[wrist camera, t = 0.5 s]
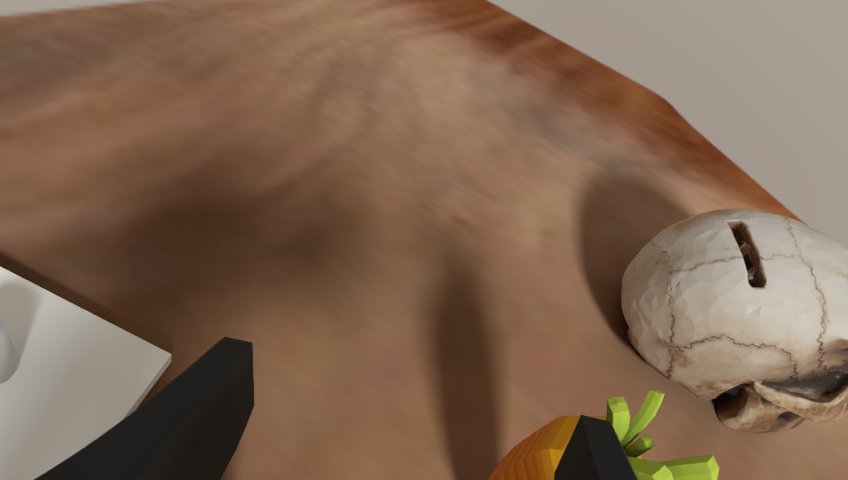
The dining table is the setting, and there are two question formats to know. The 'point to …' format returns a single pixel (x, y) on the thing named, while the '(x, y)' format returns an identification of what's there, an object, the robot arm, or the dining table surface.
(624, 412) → the carrot
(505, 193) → the dining table surface
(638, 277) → the coin bank
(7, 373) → the pinboard
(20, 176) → the dining table surface
